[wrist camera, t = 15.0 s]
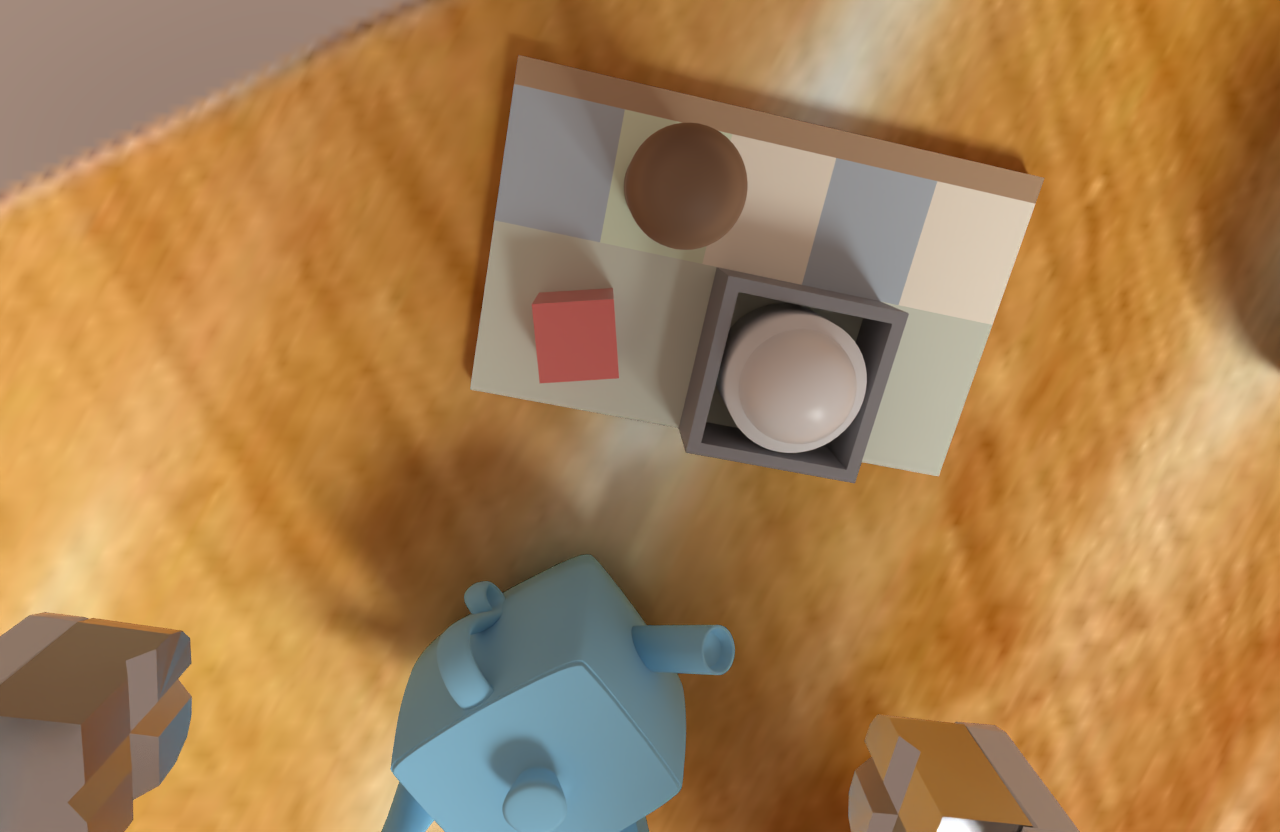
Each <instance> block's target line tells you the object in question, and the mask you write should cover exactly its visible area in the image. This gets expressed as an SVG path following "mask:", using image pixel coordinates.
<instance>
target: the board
mask: <svg viewBox="0 0 1280 832" xmlns="http://www.w3.org/2000/svg"><path fill="white" fill-rule="evenodd" d="M689 122H691V123H699V124H703V125H707V126H709V127H712V128H714V129H716V130H717V131H719V132H721V133H722V134H723V135H725V136H726V137H727V138H728V139H729V140H730V141H731V142H732V143H733V144H734V146H735V147H736V149H737V150H738V152H739V153H740V155H741V157H742V160H743V162H744V165H745V169H746V173H747V181H748V189H747V197H746V201H745V205H744V208H743V210H742V213H741V215H740V217H739V218H738V220H737V222H736V223H735V225H734V226H733V227H732V228H731V230H730V231H729V232H728V233H727V234H726V235H724V236H723V237H722V238H721V239H719V240H718V241H716V242H714V243H712V244H710V245H708V246H705V247H702V248H698V249H693V250H680V249H673V248H669V247H666V246H664V245H661V244H659V243H657V242H656V241H654V240H652V239H651V238H650V237H648V236H647V235H646V234H645V233H644V232H643V231H642V230H641V229H640V227H639V226H638V225H637V223H636V222H635V220H634V218H633V216H632V214H631V212H630V210H629V208H628V206H627V204H626V200H625V196H624V178H625V174H626V171H627V168H628V166H629V164H630V162H631V160H632V158H633V156H634V155H635V153H636V151H637V150H638V148H639V147H640V146H641V144H642V143H643V142H644V141H645V140H646V139H647V138H648V137H650V136H651V135H652V134H653V133H655V132H656V131H658V130H660V129H662V128H664V127H666V126H669V125H673V124H677V123H689ZM1043 181H1044V178H1042V177H1038V176H1034V175H1029V174H1025V173H1021V172H1017V171H1012V170H1008V169H1004V168H1000V167H995V166H991V165H987V164H982V163H978V162H974V161H970V160H965V159H961V158H957V157H953V156H948V155H944V154H940V153H935V152H931V151H927V150H923V149H918V148H914V147H910V146H906V145H901V144H897V143H893V142H889V141H884V140H880V139H876V138H871V137H867V136H863V135H859V134H854V133H850V132H846V131H842V130H837V129H833V128H829V127H825V126H820V125H816V124H812V123H807V122H803V121H799V120H795V119H790V118H786V117H782V116H778V115H773V114H769V113H765V112H760V111H756V110H752V109H748V108H743V107H739V106H735V105H731V104H726V103H722V102H718V101H714V100H709V99H705V98H701V97H696V96H692V95H688V94H684V93H679V92H675V91H671V90H667V89H662V88H658V87H654V86H649V85H645V84H641V83H637V82H632V81H628V80H624V79H620V78H615V77H611V76H607V75H603V74H598V73H594V72H590V71H585V70H581V69H577V68H573V67H568V66H564V65H560V64H556V63H551V62H547V61H543V60H539V59H534V58H530V57H526V56H521V55H518V60H517V67H516V74H515V81H514V88H513V95H512V102H511V109H510V116H509V123H508V130H507V137H506V143H505V150H504V157H503V164H502V171H501V178H500V185H499V192H498V199H497V206H496V213H495V220H494V227H493V234H492V241H491V247H490V254H489V261H488V268H487V275H486V282H485V289H484V296H483V303H482V310H481V317H480V324H479V331H478V338H477V345H476V351H475V358H474V365H473V372H472V379H471V386H470V390H476V391H481V392H487V393H492V394H497V395H503V396H508V397H514V398H519V399H524V400H530V401H535V402H540V403H546V404H551V405H557V406H562V407H567V408H573V409H578V410H584V411H589V412H594V413H600V414H605V415H611V416H616V417H621V418H627V419H632V420H637V421H643V422H648V423H654V424H659V425H664V426H670V427H675V428H679V431H680V434H681V438H682V441H683V444H684V448H685V451H686V453H691V454H697V455H702V456H708V457H713V458H719V459H724V460H730V461H735V462H741V463H746V464H752V465H757V466H763V467H768V468H774V469H779V470H785V471H790V472H796V473H801V474H807V475H812V476H817V477H823V478H828V479H834V480H839V481H845V482H850V483H855V481H856V478H857V475H858V472H859V469H860V466H861V463H862V462H864V463H869V464H875V465H880V466H885V467H891V468H896V469H902V470H907V471H912V472H918V473H923V474H928V475H934V476H939V474H940V471H941V468H942V465H943V463H944V460H945V457H946V454H947V451H948V449H949V446H950V443H951V440H952V437H953V434H954V432H955V429H956V426H957V423H958V420H959V418H960V415H961V412H962V409H963V406H964V403H965V401H966V398H967V395H968V392H969V389H970V387H971V384H972V381H973V378H974V375H975V372H976V370H977V367H978V364H979V361H980V358H981V356H982V353H983V350H984V347H985V344H986V341H987V339H988V336H989V333H990V330H991V327H992V325H993V322H994V319H995V316H996V313H997V310H998V308H999V305H1000V302H1001V299H1002V296H1003V294H1004V291H1005V288H1006V285H1007V282H1008V280H1009V277H1010V274H1011V271H1012V268H1013V265H1014V263H1015V260H1016V257H1017V254H1018V251H1019V249H1020V246H1021V243H1022V240H1023V237H1024V234H1025V232H1026V229H1027V226H1028V223H1029V220H1030V218H1031V215H1032V212H1033V209H1034V206H1035V203H1036V201H1037V198H1038V195H1039V192H1040V189H1041V187H1042V184H1043ZM606 288H613V294H614V309H615V324H616V339H617V354H618V370H619V378H617V379H601V380H586V381H571V382H555V383H540V382H539V372H538V362H537V352H536V343H535V333H534V323H533V313H532V303H533V301H534V300H535V298H536V297H537V295H538V293H541V292H557V291H573V290H590V289H606ZM777 303H789V304H796V305H800V306H803V307H806V308H808V309H810V310H812V311H814V312H816V313H817V314H819V315H821V316H822V317H824V318H825V319H827V320H829V321H830V322H832V323H834V324H835V325H837V326H839V327H840V328H842V329H843V330H844V331H845V332H846V333H848V334H849V336H850V337H851V338H852V339H853V340H854V341H855V343H856V344H857V346H858V347H859V349H860V351H861V354H862V356H863V359H864V362H865V366H866V372H867V385H866V392H865V396H864V400H863V403H862V405H861V408H860V410H859V412H858V414H857V415H856V417H855V418H854V420H853V421H852V423H851V424H850V425H849V426H848V427H847V428H846V430H845V431H844V432H842V433H841V434H840V435H839V436H838V437H836V438H835V439H833V440H832V441H831V442H829V443H827V444H825V445H823V446H821V447H818V448H816V449H813V450H809V451H805V452H798V453H784V452H777V451H773V450H769V449H767V448H764V447H762V446H760V445H758V444H756V443H754V442H753V441H752V440H750V439H749V438H748V437H747V436H746V435H745V434H744V433H743V432H742V431H741V430H740V429H739V428H738V426H737V425H736V423H735V422H734V420H733V418H732V416H731V414H730V412H729V411H728V409H727V407H726V405H725V403H724V401H723V399H722V398H721V396H720V393H719V391H718V388H717V384H716V381H717V377H718V373H719V369H720V365H721V361H722V357H723V353H724V349H725V345H726V340H727V336H728V332H729V329H730V328H731V327H732V326H733V325H734V324H735V323H736V322H737V321H738V320H739V319H740V318H742V317H743V316H744V315H746V314H747V313H749V312H751V311H753V310H755V309H757V308H760V307H762V306H766V305H770V304H777Z"/></svg>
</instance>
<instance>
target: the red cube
mask: <svg viewBox="0 0 1280 832" xmlns="http://www.w3.org/2000/svg"><path fill="white" fill-rule="evenodd" d="M532 313H533V323H534V333H535V343H536V352H537V362H538V372H539V382H540V383H555V382H571V381H586V380H601V379H617V378H619V370H618V354H617V339H616V324H615V309H614V294H613V288H606V289H590V290H573V291H557V292H541V293H538V295H537V297H536V298H535V300H534V301H533V303H532Z"/></svg>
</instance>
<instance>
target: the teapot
mask: <svg viewBox="0 0 1280 832" xmlns="http://www.w3.org/2000/svg"><path fill="white" fill-rule="evenodd" d="M464 601H465V604H466V606H467V608H468V609H469V611H470V612H471V614H469V615H468V616H466V617H465V618H462V619H460V620H458V621H457V622H455V623H454V624H452V625H451V626H450V627H448V628H447V629H446V630H445V631H444V633H442V634H441V635H440V636H439V637H437V638H436V639H435V640H434V641H433V642H432V643H431V644H430V645H429V646H428V647H427V648H426V649H425V650H424V652H423V653H422V654H421V656H420V657H419V658H418V660H417V662H416V663H415V665H414V667H413V669H412V672H411V675H410V677H409V680H408V683H407V686H406V689H405V693H404V696H403V700H402V704H401V708H400V712H399V717H398V722H397V728H396V734H395V741H394V747H393V754H392V762H391V771H392V772H393V774H394V775H395V777H396V778H397V779H398V780H399V781H400V782H399V784H398V787H397V790H396V793H395V796H394V799H393V802H392V805H391V808H390V811H389V814H388V817H387V819H386V822H385V824H384V827H383V829H382V831H381V832H425V831H426V830H427V829H428V827H429V826H430V825H431V824H432V822H433V821H434V820H435V821H436V823H437V824H438V825H439V826H440V827H441V828H442V829H443V830H444V831H445V832H649V828H648V824H647V820H646V815H648V814H650V813H651V812H653V811H654V810H656V809H657V808H659V807H660V806H662V805H663V804H665V803H666V802H667V801H669V800H670V799H671V798H673V797H674V796H675V795H676V794H678V792H679V791H680V790H681V788H682V782H683V773H684V761H685V748H686V710H685V698H684V690H683V686H682V683H681V681H680V678H679V676H678V674H677V673H686V674H707V675H722V674H724V673H726V672H727V671H728V670H729V669H730V667H731V665H732V663H733V660H734V655H735V645H734V640H733V637H732V635H731V633H730V631H729V630H728V629H727V628H726V627H724V626H722V625H646V623H645V622H644V620H643V619H642V618H641V616H640V615H639V613H638V612H637V611H636V609H635V608H634V607H633V605H632V604H631V603H630V601H629V600H628V599H627V597H626V596H625V595H624V593H623V592H622V591H621V589H620V588H619V587H618V586H617V584H616V583H615V582H614V580H613V579H612V578H611V576H610V575H609V574H608V573H607V572H606V570H605V569H604V568H603V567H602V566H601V564H600V563H599V562H598V561H597V560H596V559H595V558H594V557H593V556H592V555H588V554H586V555H580V556H577V557H574V558H572V559H569V560H567V561H565V562H562V563H560V564H558V565H556V566H554V567H552V568H550V569H548V570H546V571H544V572H542V573H540V574H538V575H536V576H534V577H532V578H530V579H528V580H526V581H524V582H522V583H520V584H518V585H516V586H514V587H512V588H510V589H509V590H507V591H505V592H503V593H502V592H501V590H500V589H499V588H498V587H497V586H496V585H494V584H493V583H492V582H489V581H482V582H477V583H475V584H473V585H472V586H470V587H469V588H468V589H467V591H466V592H465V594H464Z"/></svg>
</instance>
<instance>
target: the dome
mask: <svg viewBox="0 0 1280 832" xmlns="http://www.w3.org/2000/svg"><path fill="white" fill-rule="evenodd" d="M716 384H717V388H718V391H719V393H720V396H721V398H722V399H723V401H724V403H725V405H726V407H727V409H728V411H729V412H730V414H731V416H732V418H733V420H734V422H735V423H736V425H737V426H738V428H739V429H740V430H741V431H742V432H743V433H744V434H745V435H746V436H747V437H748V438H749V439H750V440H752V441H753V442H754V443H756V444H758V445H760V446H762V447H764V448H767V449H769V450H773V451H777V452H784V453H798V452H805V451H809V450H813V449H816V448H818V447H821V446H823V445H825V444H827V443H829V442H831V441H832V440H833V439H835V438H836V437H838V436H839V435H840V434H841V433H842V432H844V431H845V430H846V428H847V427H848V426H849V425H850V424H851V423H852V421H853V420H854V418H855V417H856V415H857V414H858V412H859V410H860V408H861V405H862V403H863V400H864V396H865V392H866V385H867V372H866V366H865V362H864V359H863V356H862V354H861V351H860V349H859V347H858V346H857V344H856V343H855V341H854V340H853V339H852V338H851V337H850V336H849V334H848V333H846V332H845V331H844V330H843V329H842V328H840V327H839V326H837V325H835V324H834V323H832V322H830V321H829V320H827V319H825V318H824V317H822V316H821V315H819V314H817V313H816V312H814V311H812V310H810V309H808V308H806V307H803V306H800V305H796V304H789V303H777V304H770V305H766V306H762V307H760V308H757V309H755V310H753V311H751V312H749V313H747V314H746V315H744V316H743V317H742V318H740V319H739V320H738V321H737V322H736V323H735V324H734V325H733V326H732V327H731V328H730V329H729V332H728V336H727V340H726V345H725V349H724V353H723V357H722V361H721V365H720V369H719V373H718V377H717V381H716Z"/></svg>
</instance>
